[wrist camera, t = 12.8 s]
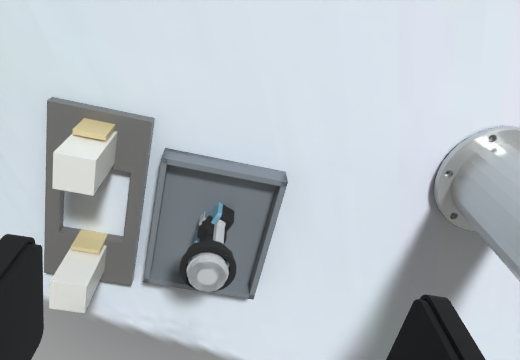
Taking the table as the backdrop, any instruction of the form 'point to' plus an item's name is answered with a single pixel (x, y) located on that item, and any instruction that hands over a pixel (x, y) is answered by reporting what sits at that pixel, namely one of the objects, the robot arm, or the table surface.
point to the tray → (205, 199)
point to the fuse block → (87, 182)
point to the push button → (210, 253)
